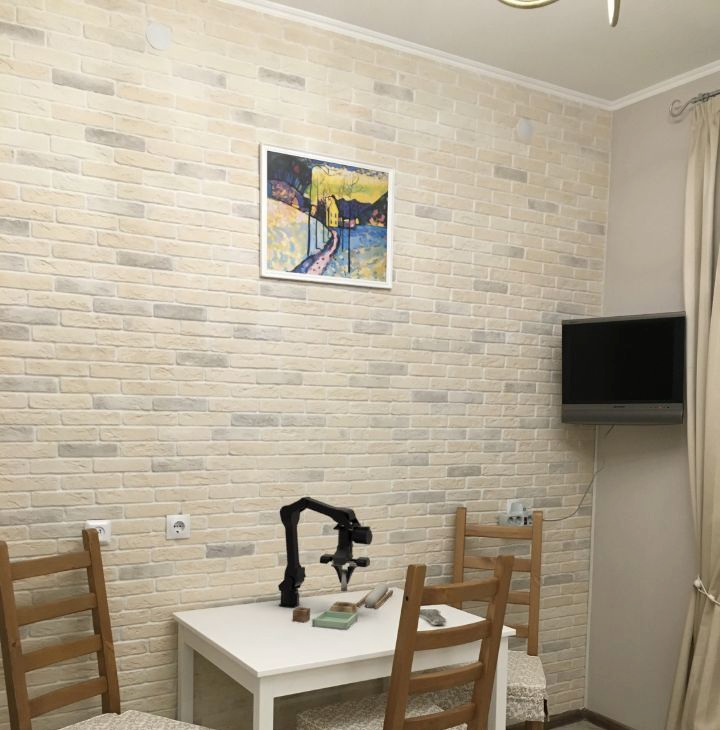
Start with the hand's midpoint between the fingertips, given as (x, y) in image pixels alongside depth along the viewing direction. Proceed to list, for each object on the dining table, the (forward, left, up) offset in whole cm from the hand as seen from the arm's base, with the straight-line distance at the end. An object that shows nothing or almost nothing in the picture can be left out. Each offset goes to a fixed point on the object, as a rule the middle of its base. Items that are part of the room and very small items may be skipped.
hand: (344, 583), depth 300 cm
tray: (+1, -13, -12) cm, 18 cm away
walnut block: (-12, -14, -12) cm, 22 cm away
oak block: (0, 0, -12) cm, 12 cm away
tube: (+6, +24, -12) cm, 28 cm away
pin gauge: (0, 0, -3) cm, 3 cm away
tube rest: (+6, +24, -12) cm, 27 cm away
